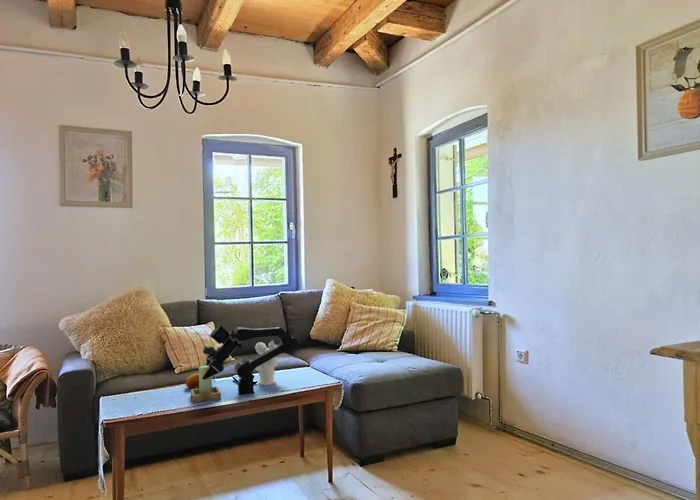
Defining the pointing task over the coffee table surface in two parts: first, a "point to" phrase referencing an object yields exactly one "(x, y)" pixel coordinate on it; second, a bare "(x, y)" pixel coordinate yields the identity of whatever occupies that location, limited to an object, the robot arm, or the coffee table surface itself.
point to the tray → (205, 395)
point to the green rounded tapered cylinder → (204, 381)
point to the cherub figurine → (266, 365)
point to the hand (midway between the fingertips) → (202, 376)
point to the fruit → (193, 381)
